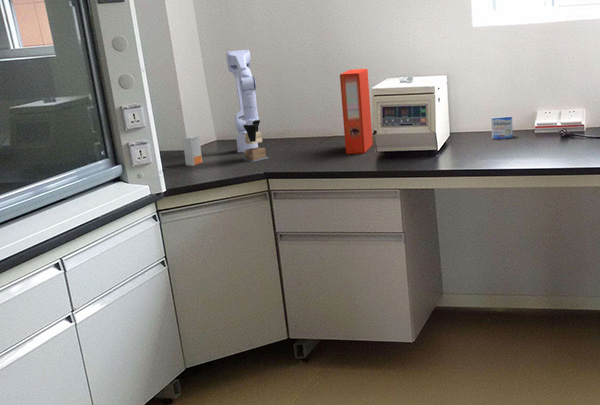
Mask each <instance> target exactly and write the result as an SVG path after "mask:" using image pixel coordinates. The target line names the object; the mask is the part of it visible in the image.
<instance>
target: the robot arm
mask: <svg viewBox="0 0 600 405" xmlns="http://www.w3.org/2000/svg"><path fill="white" fill-rule="evenodd" d="M225 55H226V57H225V58H226V63H227V68H228V69H227V70H228V72H229V73H232V74H233V76H234V79H235V84H236V92H237V98H238V106H239V110H238V111H237V113H236V114H235V115H234V120H235V121H234V123H235V131H236V132H237V133H238V134H237V135H236V145H237V151H236V153H245V150H247V149H251V148H256V147H259V143H255V144H248V143H245V135H244V134H245V133H247V134H248V137H249V140H250V142H255V141H256V132H259V130H260V123H261V120H260V118H259V113H258V111H259V110H258V103H257V96H256V90H257V82H256V79H255V76H254V75H253V74H252V71H251V61H252V60H251V52H250V50H249V49H248V48H246V49H242V50H232V51H231V50H230V51H229V50H227V51H226V54H225Z"/></svg>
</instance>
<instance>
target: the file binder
mask: <svg viewBox="0 0 600 405" xmlns="http://www.w3.org/2000/svg"><path fill="white" fill-rule="evenodd" d="M368 72H369V70H368V68H359V69H358V68H356V69H354V68H353V69H348V70H346V71H344V72H341V73H339V82H340V94H341V96H340V97H341V106H342V120H343V131H344V132H343V133H344V143H345V144H344V147H345V154H346V155H354V154H355V155H356V154H366V152H368V151H369V149H370V148H371V147H373V145H374V144H373V143H374V142H373V127H372V126H373V125H372V117H371V116H372V113H371V100H370V99H371V98H370V88H369V87H370V85H369V84H370V83H369V73H368Z"/></svg>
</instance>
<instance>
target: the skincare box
mask: <svg viewBox="0 0 600 405" xmlns="http://www.w3.org/2000/svg"><path fill="white" fill-rule="evenodd" d="M200 141H201V140H200V136H199V135H190V136H186V137H183V138H182V144H183V152H184V159H185V160H184V161H185V165H186V166H189V167H190V166H192V167H194V166H196V165H198V164H201V163H203V158H202V148H201V142H200Z"/></svg>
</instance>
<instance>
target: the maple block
mask: <svg viewBox="0 0 600 405" xmlns="http://www.w3.org/2000/svg"><path fill="white" fill-rule="evenodd" d="M244 135H245V143H248V144H255V143H258V144H259V143H262V142H263V137H262V136H263V135H262V132H261V131H258V132H256V141H255V142H250V140H249V137H248V134H247V133H245V134H244Z"/></svg>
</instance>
